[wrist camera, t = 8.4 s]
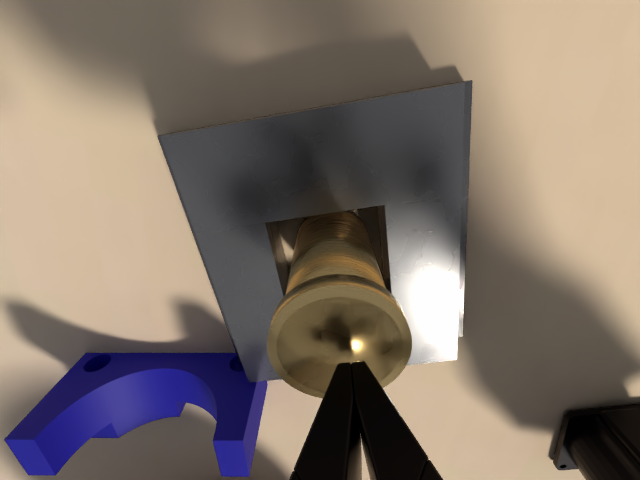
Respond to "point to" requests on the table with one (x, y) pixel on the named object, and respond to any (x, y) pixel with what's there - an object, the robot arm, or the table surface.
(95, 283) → the table surface
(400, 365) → the gold flared cylinder
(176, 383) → the cable clip
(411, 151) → the plate
